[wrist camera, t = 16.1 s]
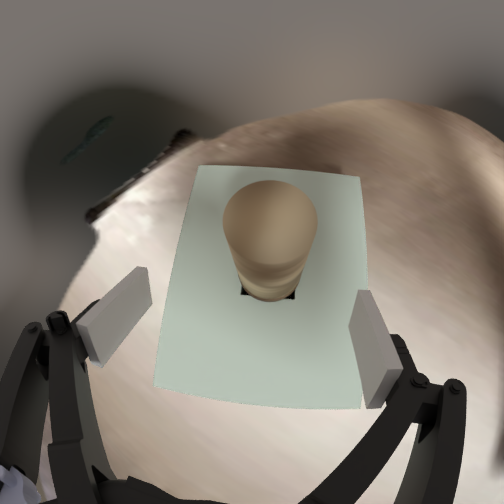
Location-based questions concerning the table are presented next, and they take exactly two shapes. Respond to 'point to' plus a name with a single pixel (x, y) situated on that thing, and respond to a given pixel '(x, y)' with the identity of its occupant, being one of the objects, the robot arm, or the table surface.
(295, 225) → the beech peg
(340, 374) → the sage board
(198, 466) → the table surface
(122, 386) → the table surface
